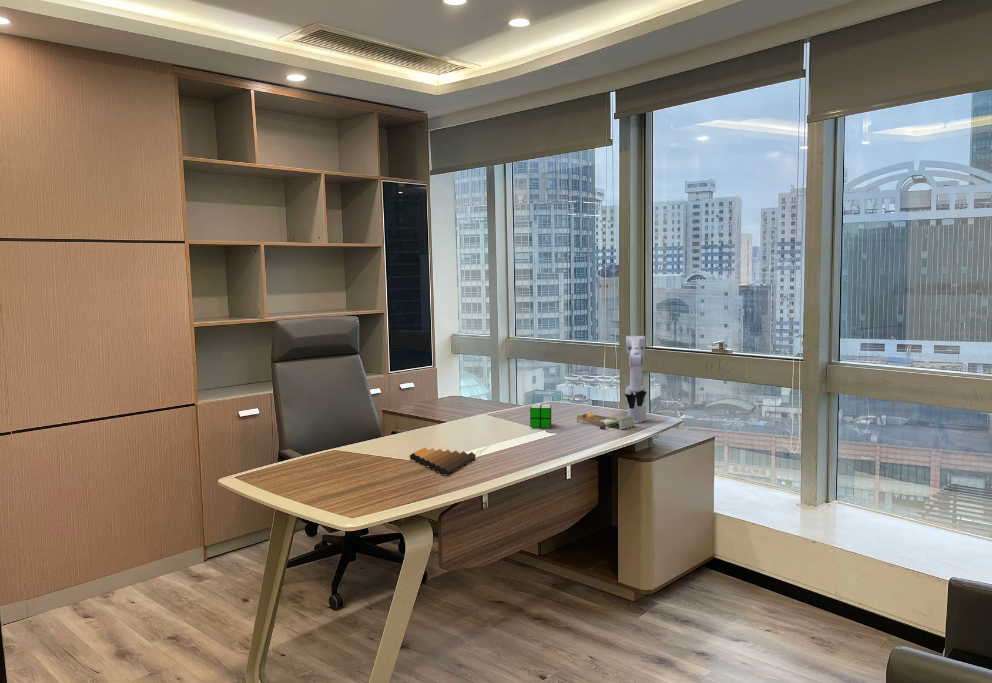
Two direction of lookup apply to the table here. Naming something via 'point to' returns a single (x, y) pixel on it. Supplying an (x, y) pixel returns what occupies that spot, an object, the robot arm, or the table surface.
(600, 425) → the tee
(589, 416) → the ball
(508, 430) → the table surface
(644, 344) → the robot arm
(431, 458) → the brown ridged panel
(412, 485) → the table surface
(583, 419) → the wooden tray
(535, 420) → the puzzle cube
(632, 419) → the ramp
